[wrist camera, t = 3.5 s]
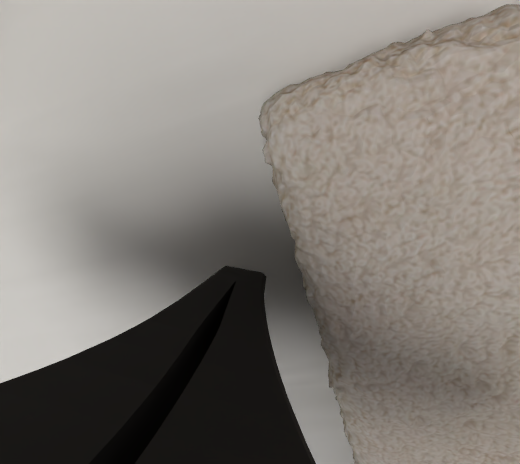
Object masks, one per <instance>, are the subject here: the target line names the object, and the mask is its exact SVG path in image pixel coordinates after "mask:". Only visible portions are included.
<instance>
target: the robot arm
mask: <svg viewBox="0 0 520 464" xmlns="http://www.w3.org/2000/svg"><path fill="white" fill-rule="evenodd" d="M265 282H266V276H265V275H264V273H261V272H256V271H251V270H245V269H240V268H235V267H229V266H225V267H223V268H222V269H221V270H219V271H218V272H217V273H215V274H214V275H213V276H211V277H210V278H209V279H207V280H206V281H205V282H203V283H202V284H201V285H199V286H198V287H197V288H195V289H194V290H192V291H191V292H189V293H188V294H187V295H185V296H184V297H182V298H181V299H179V300H178V301H177V302H175V303H173V304H172V305H170V306H169V307H167V308H166V309H164V310H162V311H161V312H159V313H158V314H156V315H154V316H153V317H151V318H149V319H148V320H146V321H144V322H142V323H141V324H139V325H137V326H135V327H133V328H131V329H129V330H127V331H125V332H123V333H122V334H120V335H118V336H116V337H114V338H111V339H109V340H107V341H105V342H103V343H100V344H98V345H96V346H94V347H91V348H89V349H87V350H85V351H82V352H80V353H78V354H76V355H73V356H71V357H69V358H67V359H64V360H62V361H59V362H57V363H54V364H52V365H49V366H46V367H44V368H41V369H39V370H36V371H33V372H31V373H28V374H25V375H22V376H20V377H17V378H14V379H11V380H9V381H6V382H3V383H0V464H316V463H315V461H314V459H313V457H312V454H311V452H310V450H309V448H308V446H307V443H306V441H305V439H304V436H303V434H302V431H301V429H300V426H299V424H298V422H297V419H296V417H295V414H294V412H293V409H292V407H291V404H290V402H289V399H288V397H287V394H286V391H285V388H284V385H283V382H282V379H281V376H280V373H279V370H278V366H277V363H276V360H275V356H274V352H273V349H272V345H271V340H270V336H269V331H268V326H267V320H266V313H265V305H264V290H265Z"/></svg>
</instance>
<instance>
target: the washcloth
mask: <svg viewBox="0 0 520 464" xmlns="http://www.w3.org/2000/svg"><path fill="white" fill-rule="evenodd" d="M260 113H261V115H260V116H259V118H258V119H259V121H260V126H261V129H262V130H261V133H262V135H263V136H264V137H265V138H266V140H267V141H266V144H265V146H264V148H263V152H264V156H265V163H268V164H270V165H272V167H273V177H272V181H273V183H274V185H275V187H276V189H277V192H278V196H279V200H280V204H281V208H282V212H283V213H284V216H285V220H286V222H287V223H288V225H289V230H290V232H291V237H292V238H293V239H294V240H295V260H296V262H297V265H298V268H299V269H300V270H301V272H302V274H303V288H304V289H305V290H306V297H307V301H308V303H309V304H310V306H311V307H312V309H313V311H314V315H315V319H316V322H317V324H318V326H319V333H320V335H321V338H322V340H321V346H322V348H323V349H324V351H325V353H326V355H327V357H328V360H329V370H328V371H329V374H328V377H329V387H331V388H333V390H334V393H335V394H336V395H337V396H336V397H335V399H336V400H338V402H339V405H340V408H341V411H340V415H341V417H342V418H343V424H344V431H345V434H346V437H347V438H348V441H349V443H350V445H351V446H352V448H353V459H354V460H355V464H520V5H509V4H507V5H504V6H501V7H499V8H497V9H495V10H493V11H491V12H490V13H488V14H486V15H484V16H481V17H477V18H469V19H467V20H466V21H464V22H461V23H459V24H452V25H449V26H447V27H444V28H442V29H439V30H437V31H434V32H431V31H430V30H426V31H425V32H424V34H423V35H420V36H419V37H417V38H414V39H412V40H410V41H409V42H407V43H401V42H397V43H395V42H394V43H392V44H390V45H389V46H388V47H387V48H385V49H383V50H381V51H378V52H376V53H373V54H371V55H369V56H367V57H365V58H363V59H361V60H359V61H357V62H355V63H352V64H350V65H348V66H347V67H346V68H345V69H344V70H341V71H336V72H326V73H324V74H322V75H318V76H316V77H313V78H309V79H307V80H306V81H304V82H302V83H300V84H294V85H289V86H287V87H285V88H283V89H282V90H280V91H279V92H277V93H276V94H274V95H273V96H272V97H271V98H270V99H268V100H267V101H266V102H265V103H264V104H263V106H262V109H261V112H260Z"/></svg>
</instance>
